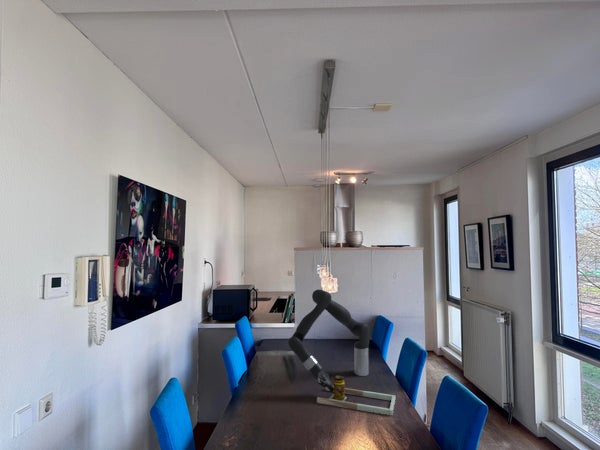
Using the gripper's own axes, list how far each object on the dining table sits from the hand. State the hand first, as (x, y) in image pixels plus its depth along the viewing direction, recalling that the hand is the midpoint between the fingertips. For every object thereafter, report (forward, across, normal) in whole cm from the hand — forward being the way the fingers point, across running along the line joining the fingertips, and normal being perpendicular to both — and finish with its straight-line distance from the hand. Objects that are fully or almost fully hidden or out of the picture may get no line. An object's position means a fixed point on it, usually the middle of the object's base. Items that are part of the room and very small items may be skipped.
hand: (333, 390), depth 190 cm
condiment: (+5, 0, +1) cm, 5 cm away
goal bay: (+19, 0, -14) cm, 24 cm away
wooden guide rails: (+6, 0, 0) cm, 6 cm away
